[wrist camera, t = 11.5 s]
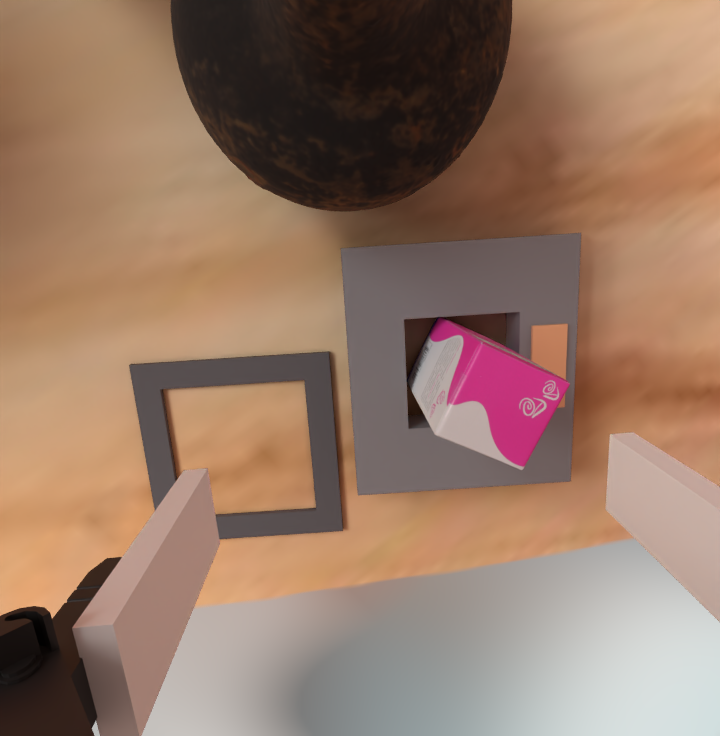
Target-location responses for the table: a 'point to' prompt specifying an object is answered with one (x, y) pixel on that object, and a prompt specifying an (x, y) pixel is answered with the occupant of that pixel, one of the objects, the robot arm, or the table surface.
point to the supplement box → (483, 393)
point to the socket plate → (443, 299)
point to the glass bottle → (341, 89)
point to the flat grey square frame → (246, 371)
